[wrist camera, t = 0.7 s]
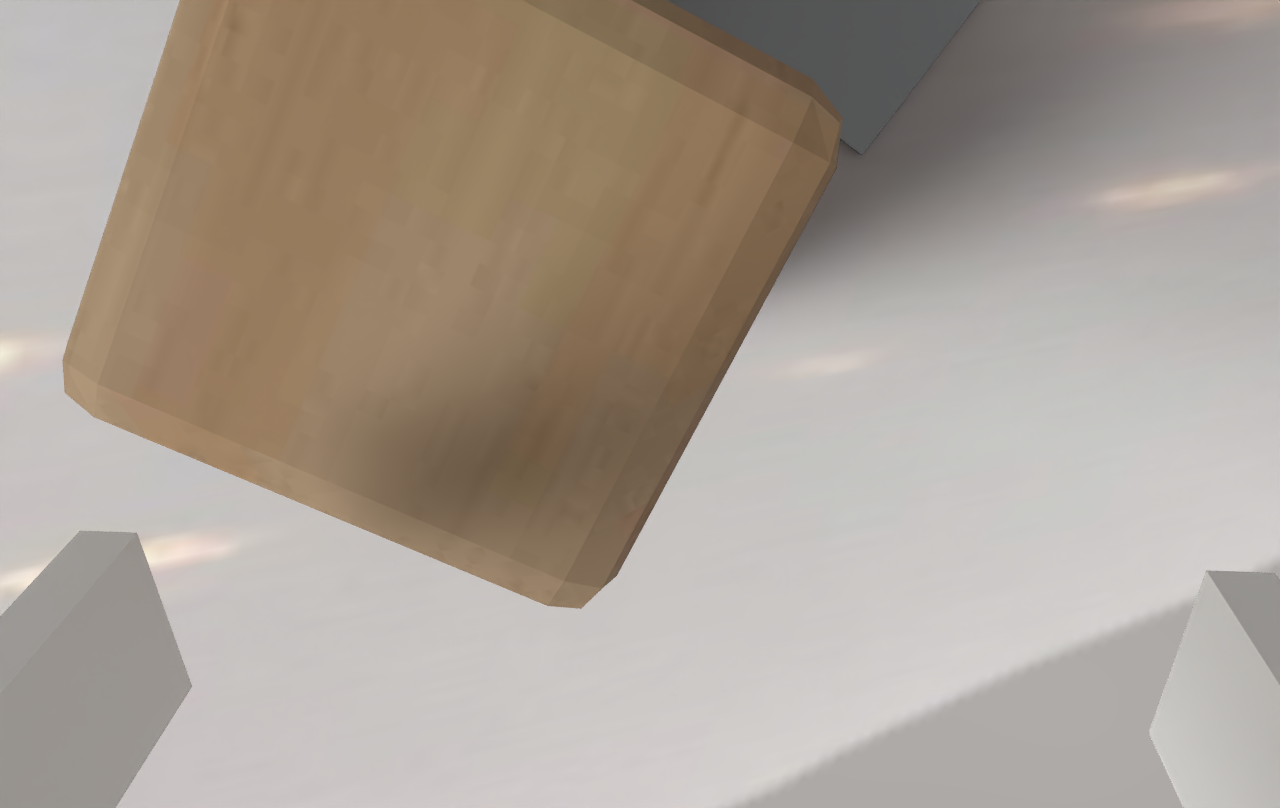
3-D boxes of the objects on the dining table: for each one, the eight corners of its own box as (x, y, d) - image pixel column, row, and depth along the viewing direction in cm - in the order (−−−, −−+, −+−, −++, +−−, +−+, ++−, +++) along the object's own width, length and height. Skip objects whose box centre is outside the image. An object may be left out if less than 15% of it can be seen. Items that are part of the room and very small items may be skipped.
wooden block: (727, 98, 33) (885, 109, 14) (601, 352, 36) (592, 649, 17) (457, -44, 32) (226, -247, 13) (345, 233, 34) (15, 412, 15)
